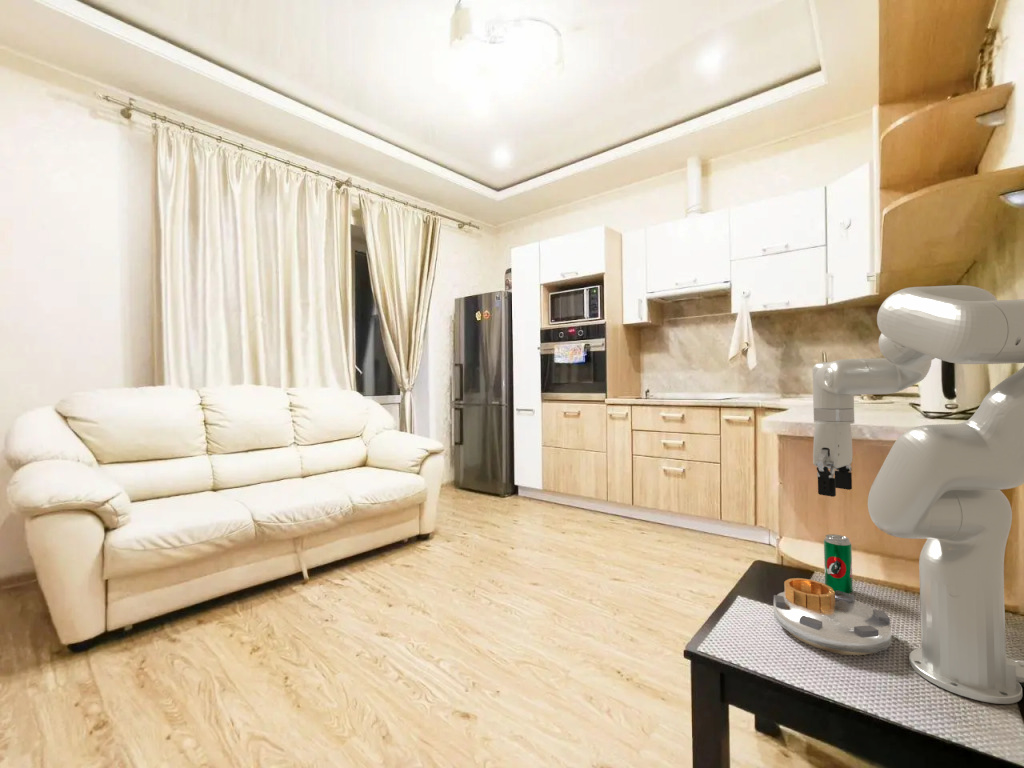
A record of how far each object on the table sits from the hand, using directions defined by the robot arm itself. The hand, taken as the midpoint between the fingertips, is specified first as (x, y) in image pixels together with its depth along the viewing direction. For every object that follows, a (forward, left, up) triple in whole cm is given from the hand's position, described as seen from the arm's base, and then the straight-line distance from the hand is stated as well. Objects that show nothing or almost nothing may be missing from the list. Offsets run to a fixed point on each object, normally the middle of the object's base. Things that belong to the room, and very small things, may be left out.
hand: (835, 491), depth 102 cm
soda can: (0, 0, -22) cm, 22 cm away
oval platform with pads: (+6, +21, -21) cm, 30 cm away
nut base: (+6, +21, -22) cm, 31 cm away
